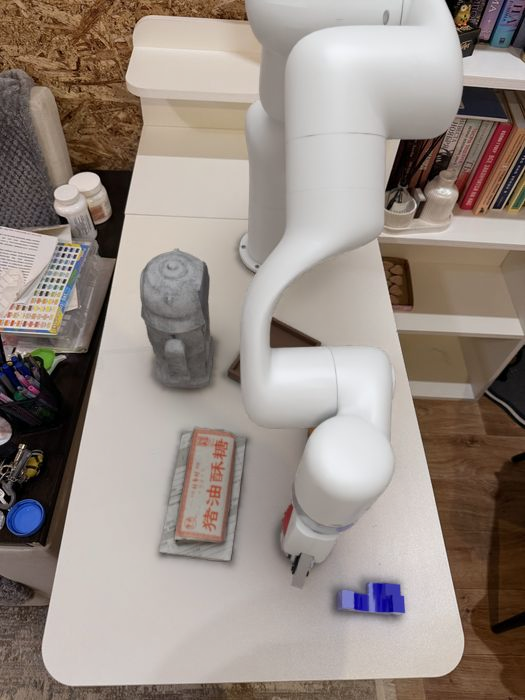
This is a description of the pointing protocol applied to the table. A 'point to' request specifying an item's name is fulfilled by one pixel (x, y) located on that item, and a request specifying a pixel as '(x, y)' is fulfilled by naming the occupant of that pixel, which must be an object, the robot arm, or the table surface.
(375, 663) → the table surface
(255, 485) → the table surface
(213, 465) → the packaged product
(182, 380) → the figurine
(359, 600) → the cable holder
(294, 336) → the tray
